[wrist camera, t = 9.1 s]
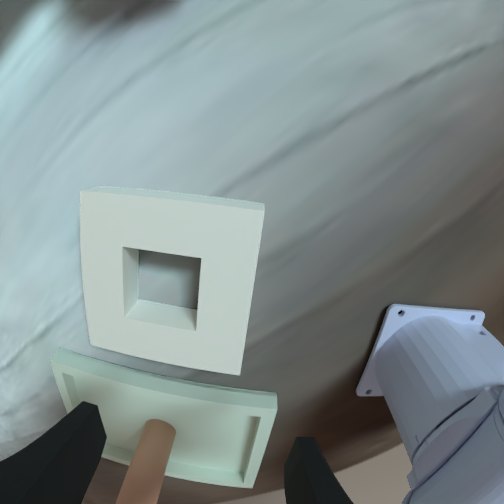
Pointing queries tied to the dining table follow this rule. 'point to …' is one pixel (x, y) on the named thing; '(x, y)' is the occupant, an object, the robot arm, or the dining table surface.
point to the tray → (173, 417)
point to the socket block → (173, 242)
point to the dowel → (148, 464)
